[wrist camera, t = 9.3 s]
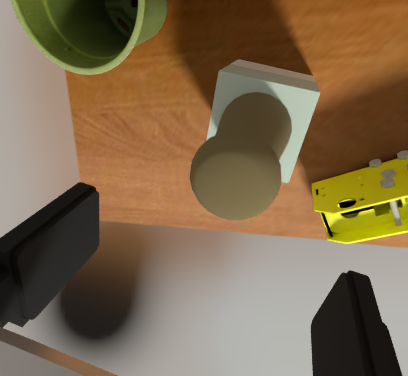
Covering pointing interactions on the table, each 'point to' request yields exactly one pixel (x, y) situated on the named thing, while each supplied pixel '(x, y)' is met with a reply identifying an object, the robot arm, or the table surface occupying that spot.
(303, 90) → the block top
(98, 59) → the plant pot
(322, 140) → the table surface
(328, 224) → the yellow toy chassis
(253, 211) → the cork
